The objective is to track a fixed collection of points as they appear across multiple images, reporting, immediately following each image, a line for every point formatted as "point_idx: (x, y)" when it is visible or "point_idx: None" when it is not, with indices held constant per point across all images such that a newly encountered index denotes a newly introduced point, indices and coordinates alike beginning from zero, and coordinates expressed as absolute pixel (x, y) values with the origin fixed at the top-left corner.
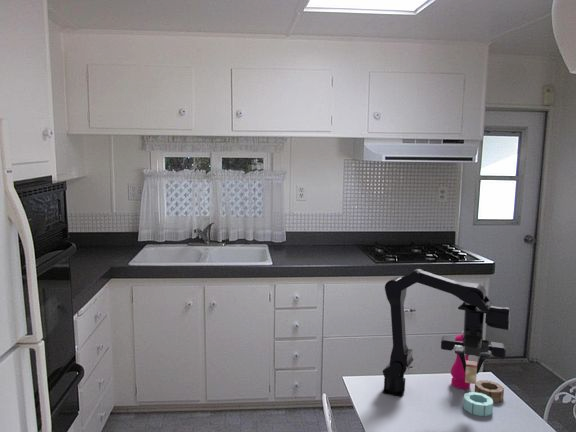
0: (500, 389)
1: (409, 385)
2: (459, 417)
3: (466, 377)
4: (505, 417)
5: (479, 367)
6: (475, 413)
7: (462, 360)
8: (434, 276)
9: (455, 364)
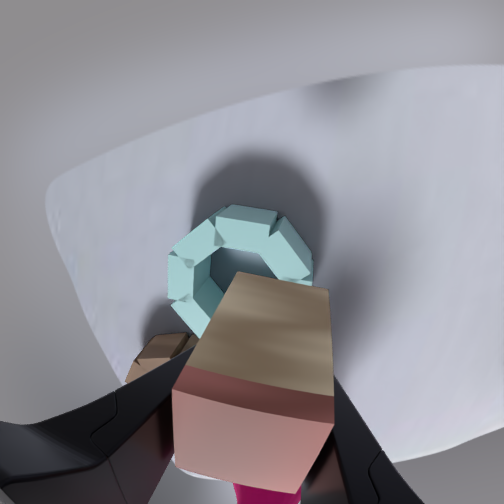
0: (135, 377)
1: (473, 393)
2: (350, 168)
3: (319, 312)
4: (143, 219)
5: (152, 379)
6: (266, 211)
7: (382, 472)
8: None
9: (297, 496)
